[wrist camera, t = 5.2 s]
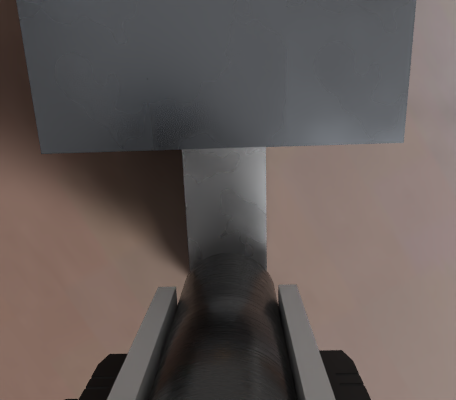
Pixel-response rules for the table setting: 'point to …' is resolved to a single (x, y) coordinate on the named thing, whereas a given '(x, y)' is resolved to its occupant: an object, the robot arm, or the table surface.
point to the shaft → (225, 288)
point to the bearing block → (216, 72)
